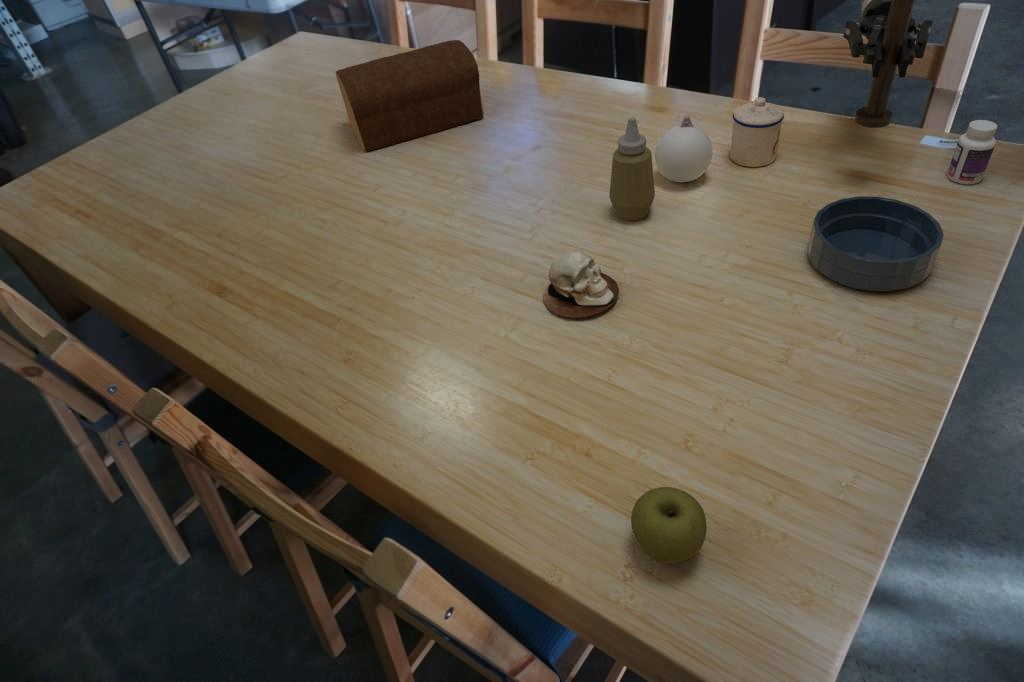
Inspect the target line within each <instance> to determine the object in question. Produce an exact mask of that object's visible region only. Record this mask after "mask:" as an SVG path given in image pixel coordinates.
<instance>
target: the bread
mask: <svg viewBox="0 0 1024 682" xmlns="http://www.w3.org/2000/svg"><path fill="white" fill-rule="evenodd" d="M335 78H336V81H337V84H338V87H339V91H340V94H341V98H342V101H343V103H344V107H345V111H346V114H347V118H348V121H349V125H350V127H351V129H352V131H353V132H354V134H355V137H356V139H357V141H358V143H359V146H360V147H361V149H363V151H365V152H370V151H373V150H377V149H381V148H385V147H388V146H391V145H395V144H398V143H401V142H405V141H411V140H414V139H416V138H419V137H424V136H426V135H430V134H435V133H438V132H440V131H441V132H442V131H444V130H447V129H450V128H454V127H457V126H460V125H464V124H467V123H471V122H474V121H477V120H480V119H483V118H484V115H485V114H484V113H485V112H484V106H483V99H482V95H481V87H480V86H481V85H480V71H479V65H478V63H477V61H476V58H475V56H474V54H473V53H472V51H471V50H470V48H469V47H468V46H467V45H466V44H465V43H464V42H463V41H462V40H461V39H454V40H453V39H451V40H447V41H442V42H438V43H435V44H430V45H426V46H423V47H419V48H416V49H412V50H409V51H405V52H399V53H395V54H392V55H389V56H385V57H384V56H383V57H379V58H375V59H372V60H369V61H366V62H363V63H358V64H354V65H350V66H348V67H345V68H341V69H338V70H335Z"/></svg>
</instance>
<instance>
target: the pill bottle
mask: <svg viewBox="0 0 1024 682" xmlns="http://www.w3.org/2000/svg"><path fill="white" fill-rule="evenodd" d="M997 130H998V124H997V123H996V122H993V121H991V120H987V119H974V120H972V121H970V122H969V124H968V126H967V129H966V132H965V133H962V135H960V136H959V138H958V140H957V143H956V146H955V149H954V152H953V155H952V157H951V160H950V163H949V166H948V169H947V173H946V176H947V178H948V179H949V180H950V181H952V182H954V183H957V184H961V185H974V184H978V183H979V182H981V181H982V179H983V178H984V176H985V173H986V170H987V168H988V165H989V163H990V159H991V158H992V154H993V153H994V150H995V147H996V144H997V140H996V137H995V134H996V131H997Z"/></svg>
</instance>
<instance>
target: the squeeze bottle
mask: <svg viewBox="0 0 1024 682" xmlns="http://www.w3.org/2000/svg"><path fill="white" fill-rule="evenodd" d="M652 156H653V154H652V151H651V149H650V148H649V147H647V138H646V137H645V136H644V135H642V134H641V133H640V132H639V128H638V124H637V119H636V117H629V118H628V120H627V123H626V129H625V134H623V135H622V136H620V137H619V138H618V140H617V149H615V150H614V151H613V154H612V161H611V171H610V186H609V196H608V198H609V200H610V202H611V205H612V208H613V209H614V212H615V214H616V217H618V218H620V219H621V220H625V221H629V222H630V221H632V222H635V221H639V220H641V219H644V218H646V217H647V215H648V214H649V212H650V211H651V210H650V209H651V207H652V205H653V202H654V200H655V196H656V189H655V178H654V167H653V165H654V164H653V157H652Z"/></svg>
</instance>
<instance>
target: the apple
mask: <svg viewBox="0 0 1024 682" xmlns="http://www.w3.org/2000/svg"><path fill="white" fill-rule="evenodd" d="M630 525H631V530H632V533H633V536H634V538H635V540H636V542H637V544H638V545H639V547H640V548H641V550H642V551H643V552H644V553H645V554H646V556H648V557H649V558H650V559H652V560H654V561H657V562H659V563H662V564H678V563H683V562H685V561H687V560H689V559H691V558H693V557H694V556H695V555H696V554H697V553H699V551H700V550H701V548H702V546H703V545H704V543H705V540H706V537H707V518H706V514H705V511H704V508H703V507H702V505H701V503H700V502H699V501H698V500H697V498H695V497H694V496H693V495H692V494H691V493H688V492H687V491H685V490H683V489H680V488H677V487H672V486H659V487H656V488H655V487H654V488H651V489H650V490H647V491H645V492H644V493H643V494H641V495H640V496H639V498H638V499H637V500H636V501H635V503H634V505H633V507H632V512H631V515H630Z"/></svg>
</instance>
